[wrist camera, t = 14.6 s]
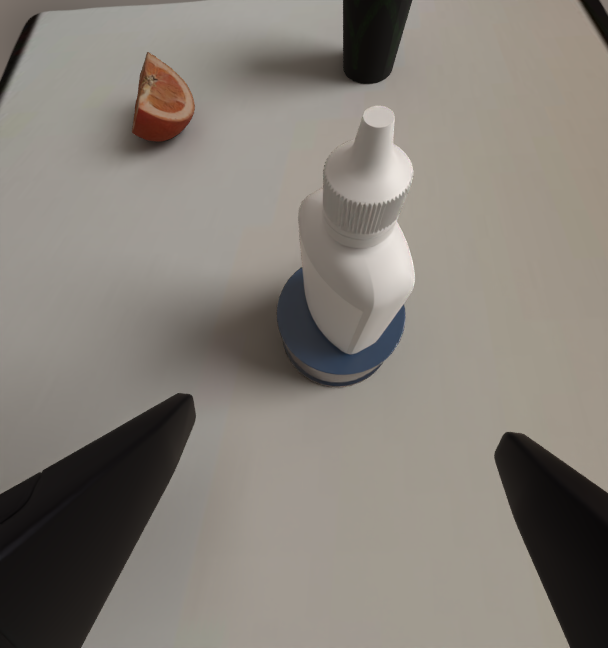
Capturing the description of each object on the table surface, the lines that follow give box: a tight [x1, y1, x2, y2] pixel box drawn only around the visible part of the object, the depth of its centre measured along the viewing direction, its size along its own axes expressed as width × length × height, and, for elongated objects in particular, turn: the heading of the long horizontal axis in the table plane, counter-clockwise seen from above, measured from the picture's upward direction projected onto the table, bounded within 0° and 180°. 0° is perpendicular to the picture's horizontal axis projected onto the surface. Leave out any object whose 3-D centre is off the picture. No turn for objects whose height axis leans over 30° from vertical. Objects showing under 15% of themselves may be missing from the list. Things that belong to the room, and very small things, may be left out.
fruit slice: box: [132, 52, 195, 141], centre depth 28 cm, size 8×7×5 cm
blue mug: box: [277, 267, 405, 387], centre depth 20 cm, size 10×8×5 cm
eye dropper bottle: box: [298, 106, 415, 355], centre depth 12 cm, size 4×6×12 cm
